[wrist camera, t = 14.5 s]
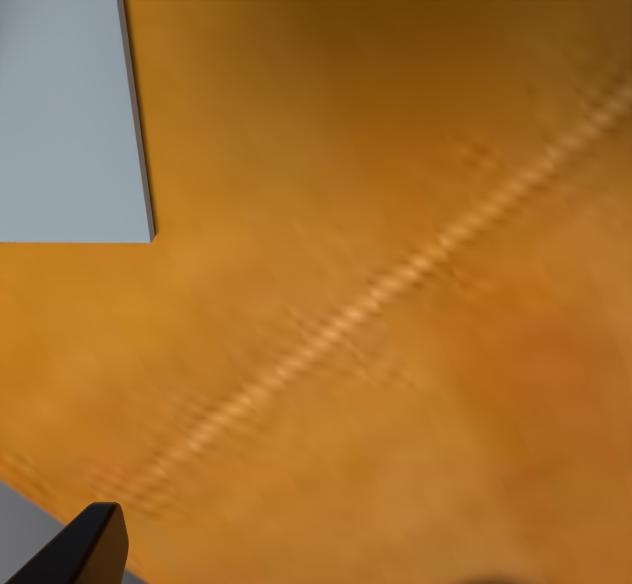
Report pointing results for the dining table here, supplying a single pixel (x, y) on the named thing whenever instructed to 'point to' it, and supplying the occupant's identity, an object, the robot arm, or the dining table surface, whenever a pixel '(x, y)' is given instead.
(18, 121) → the rubber mat
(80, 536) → the robot arm
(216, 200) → the dining table surface
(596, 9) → the dining table surface
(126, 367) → the dining table surface
